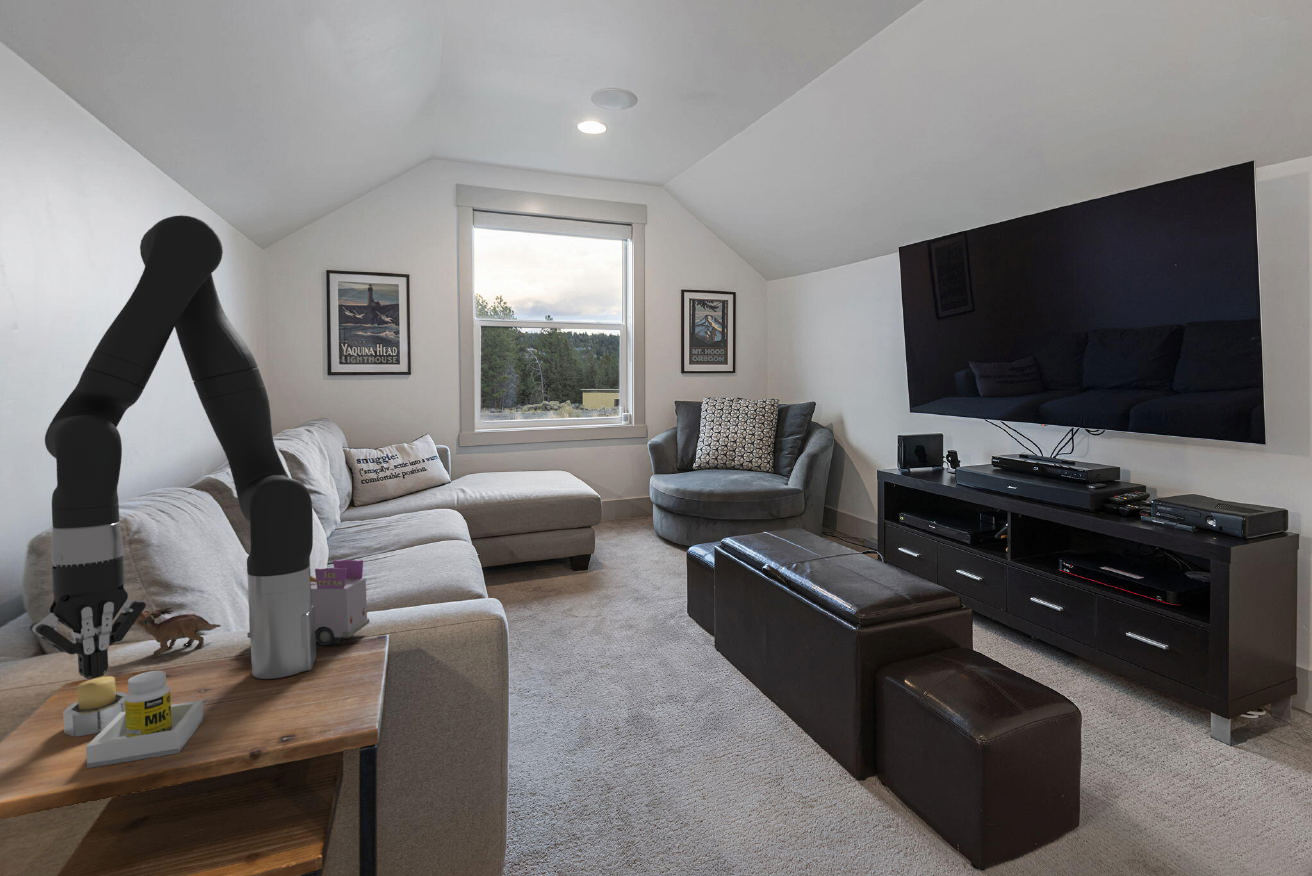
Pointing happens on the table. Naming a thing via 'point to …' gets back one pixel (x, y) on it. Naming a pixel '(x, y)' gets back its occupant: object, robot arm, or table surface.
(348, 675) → the table surface
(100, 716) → the socket
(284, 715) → the table surface
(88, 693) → the yellow rounded lump
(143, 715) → the supplement bottle
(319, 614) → the toy vehicle
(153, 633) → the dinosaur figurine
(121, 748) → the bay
